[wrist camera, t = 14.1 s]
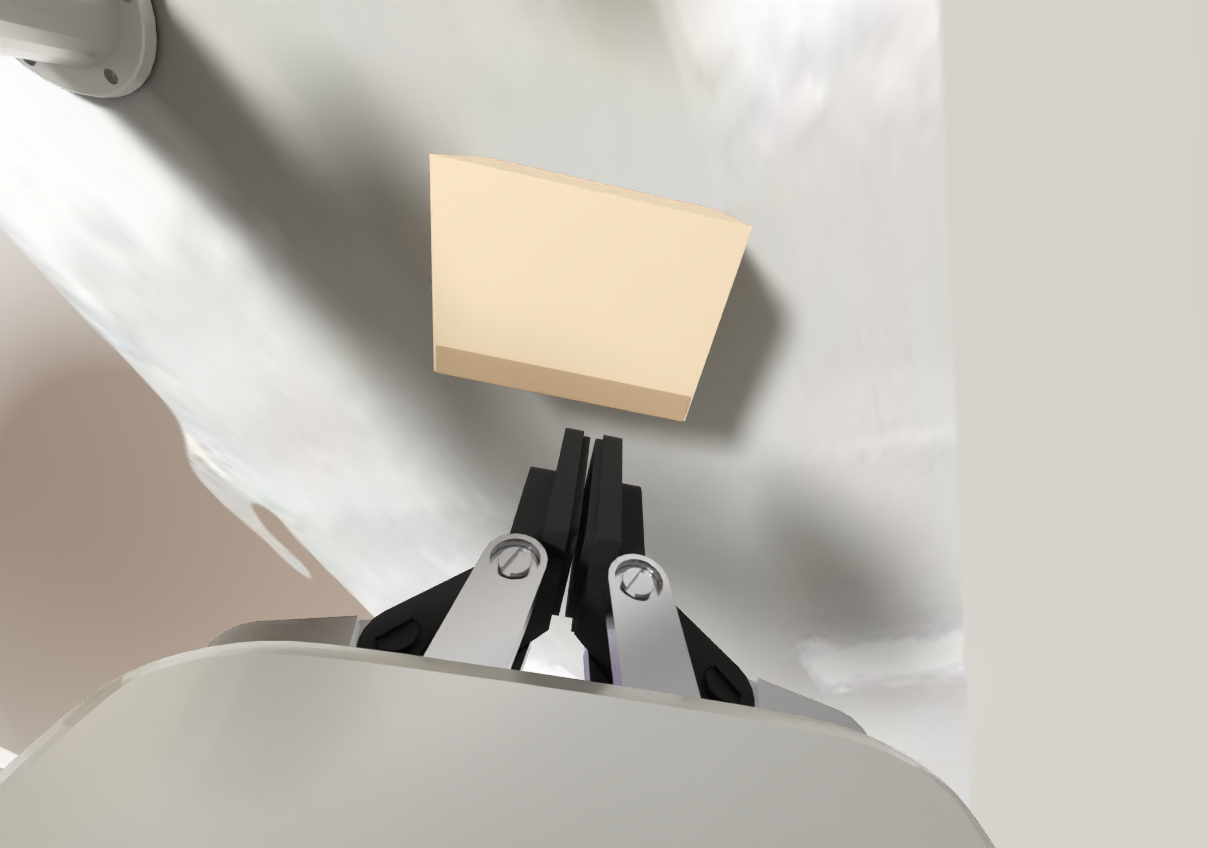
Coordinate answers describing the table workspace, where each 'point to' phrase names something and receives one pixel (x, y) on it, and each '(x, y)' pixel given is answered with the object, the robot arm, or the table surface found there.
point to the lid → (574, 288)
